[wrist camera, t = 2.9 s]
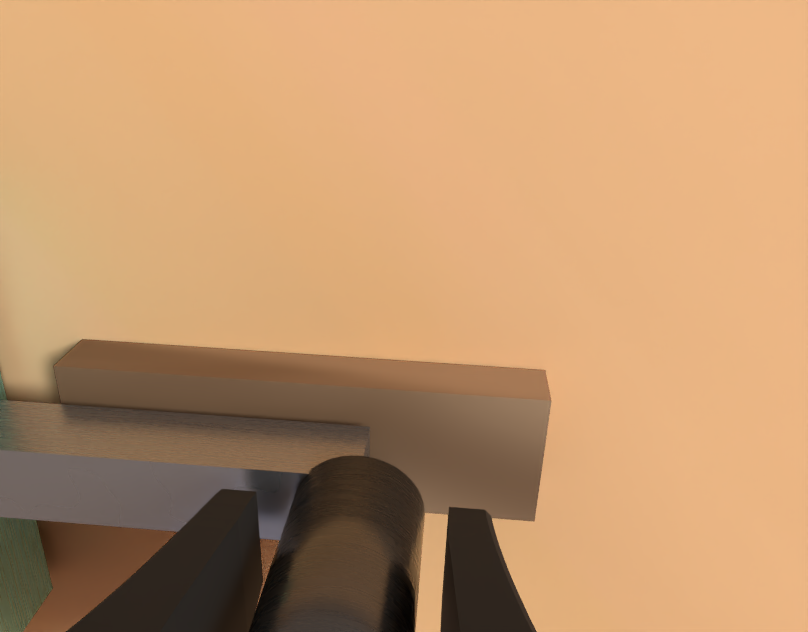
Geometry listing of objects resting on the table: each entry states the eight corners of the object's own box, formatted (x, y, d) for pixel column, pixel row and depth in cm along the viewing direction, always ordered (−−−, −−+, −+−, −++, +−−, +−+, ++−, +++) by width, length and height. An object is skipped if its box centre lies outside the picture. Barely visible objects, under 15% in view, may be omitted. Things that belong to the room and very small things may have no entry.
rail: (529, 485, 16) (534, 521, 15) (103, 452, 17) (77, 485, 16) (545, 370, 15) (551, 400, 14) (82, 339, 15) (53, 365, 14)
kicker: (420, 621, 17) (390, 1022, 11) (-8, 583, 18) (-291, 938, 11) (445, 182, 13) (421, 405, 6) (-133, 153, 13) (-739, 323, 7)
